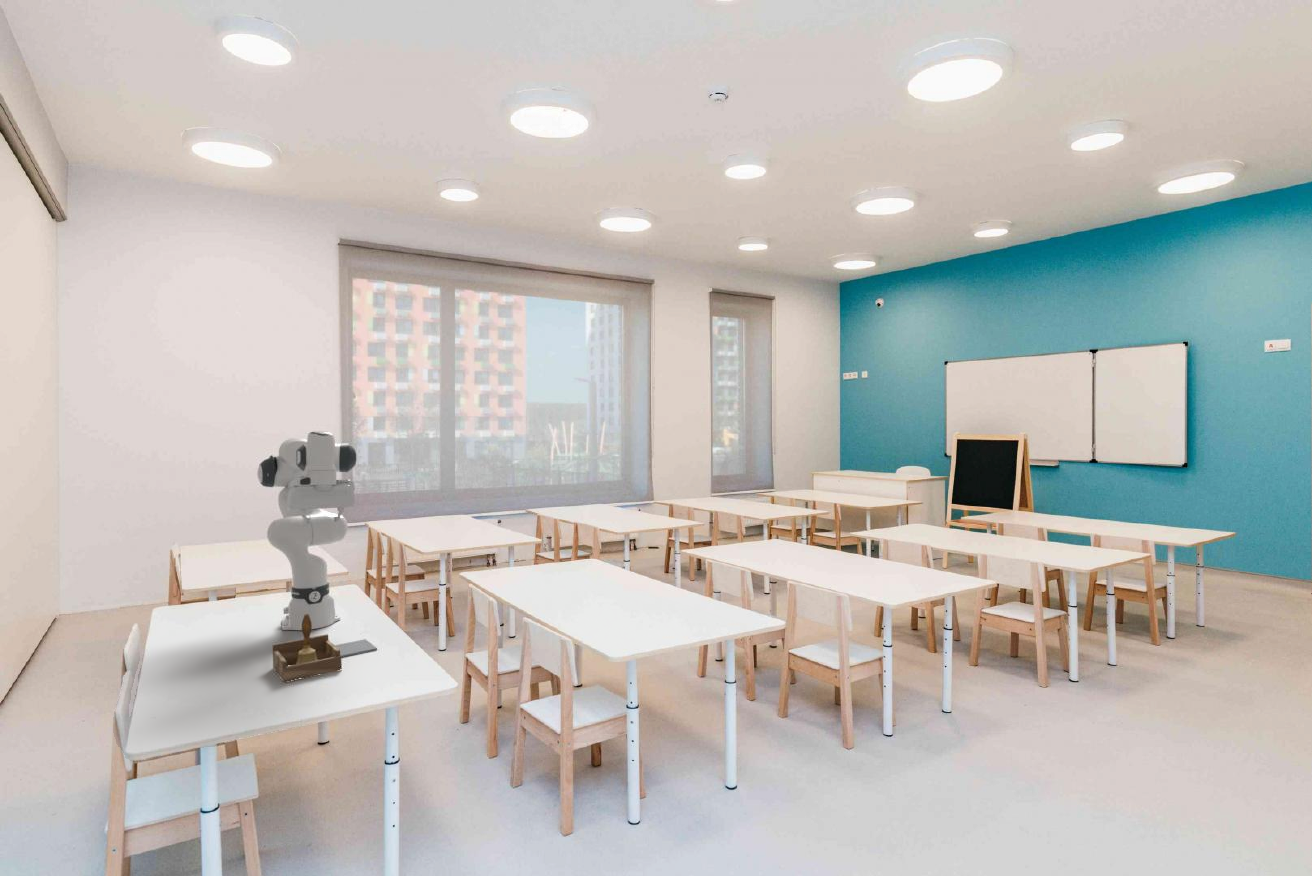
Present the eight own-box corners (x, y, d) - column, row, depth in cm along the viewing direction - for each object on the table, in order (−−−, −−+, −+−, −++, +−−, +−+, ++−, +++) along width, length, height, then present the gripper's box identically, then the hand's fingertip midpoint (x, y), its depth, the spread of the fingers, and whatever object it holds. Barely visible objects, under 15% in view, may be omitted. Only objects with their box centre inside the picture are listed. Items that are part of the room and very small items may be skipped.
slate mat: (326, 648, 225) (326, 647, 225) (365, 641, 232) (365, 639, 232) (336, 658, 215) (336, 656, 215) (377, 650, 223) (377, 648, 223)
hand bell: (311, 662, 212) (310, 609, 212) (329, 667, 208) (327, 613, 208) (285, 671, 205) (283, 616, 205) (302, 676, 201) (300, 620, 200)
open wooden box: (273, 668, 208) (272, 644, 208) (328, 656, 217) (327, 634, 217) (284, 682, 196) (283, 657, 196) (341, 670, 205) (340, 646, 205)
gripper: (351, 480, 242) (351, 521, 241) (285, 481, 228) (285, 524, 227) (357, 479, 237) (358, 520, 236) (290, 480, 223) (291, 524, 222)
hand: (322, 522), depth 231 cm, fingers open, 8 cm apart
